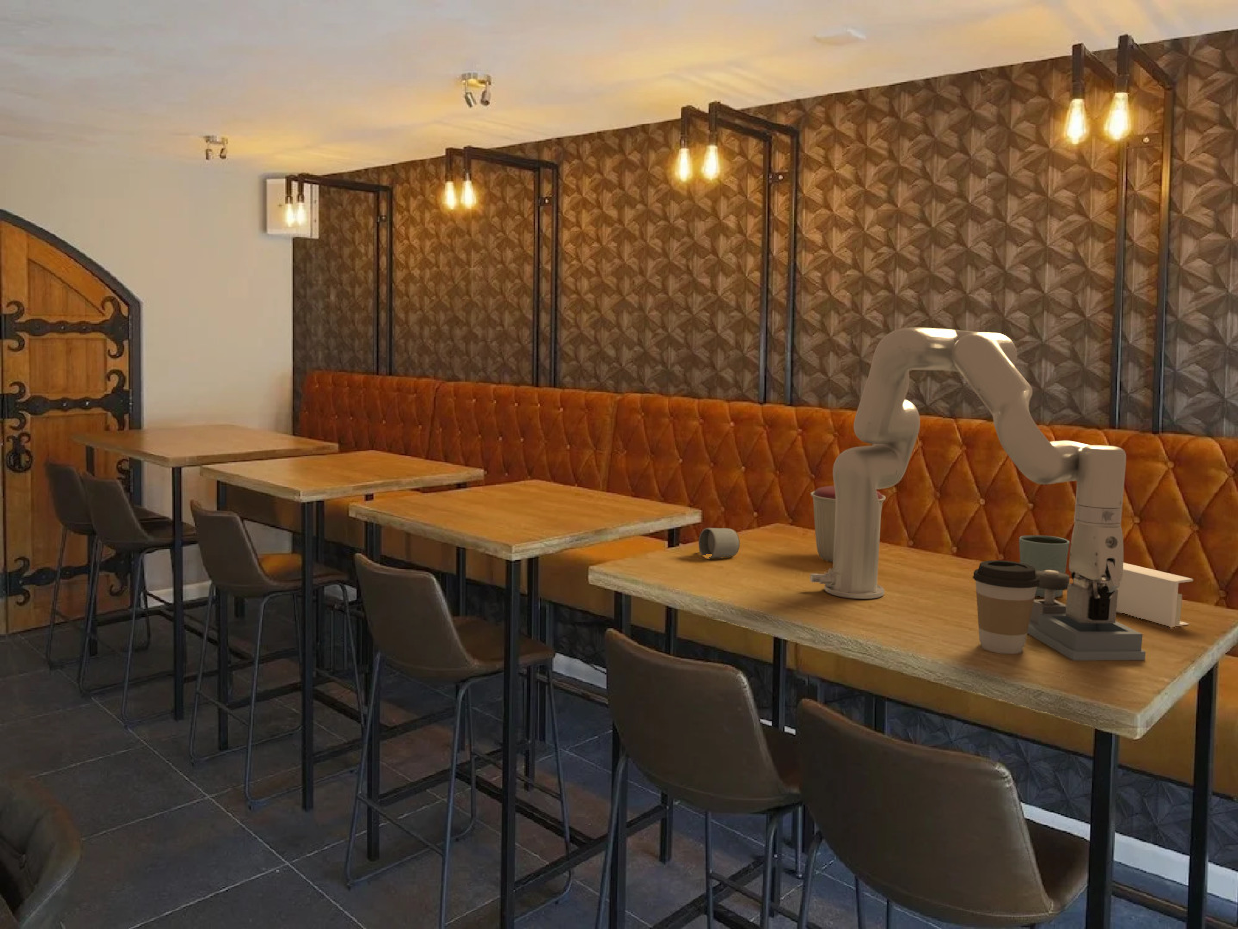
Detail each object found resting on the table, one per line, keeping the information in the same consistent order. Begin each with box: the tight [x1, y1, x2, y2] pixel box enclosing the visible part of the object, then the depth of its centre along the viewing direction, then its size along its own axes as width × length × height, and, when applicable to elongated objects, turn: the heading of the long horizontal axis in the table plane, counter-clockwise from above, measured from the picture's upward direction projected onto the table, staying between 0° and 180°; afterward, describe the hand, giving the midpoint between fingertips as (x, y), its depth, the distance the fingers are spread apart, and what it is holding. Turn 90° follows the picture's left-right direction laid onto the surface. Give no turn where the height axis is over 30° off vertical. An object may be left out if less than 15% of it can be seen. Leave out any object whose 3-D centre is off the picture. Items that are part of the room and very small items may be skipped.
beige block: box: [1065, 578, 1118, 623], centre depth 180 cm, size 5×6×7 cm
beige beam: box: [1101, 562, 1194, 628], centre depth 205 cm, size 20×6×9 cm, turn 26°
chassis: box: [1027, 599, 1146, 661], centre depth 185 cm, size 13×22×6 cm, turn 5°
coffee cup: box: [971, 559, 1041, 655], centre depth 179 cm, size 11×11×15 cm
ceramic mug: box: [698, 527, 741, 559], centre depth 252 cm, size 11×8×8 cm
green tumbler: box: [1018, 534, 1070, 598], centre depth 221 cm, size 10×10×12 cm
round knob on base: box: [1036, 570, 1070, 605], centre depth 191 cm, size 6×6×7 cm
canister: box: [810, 485, 886, 563], centre depth 249 cm, size 18×18×21 cm
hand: (1090, 614), depth 181 cm, fingers closed on beige block, 5 cm apart
